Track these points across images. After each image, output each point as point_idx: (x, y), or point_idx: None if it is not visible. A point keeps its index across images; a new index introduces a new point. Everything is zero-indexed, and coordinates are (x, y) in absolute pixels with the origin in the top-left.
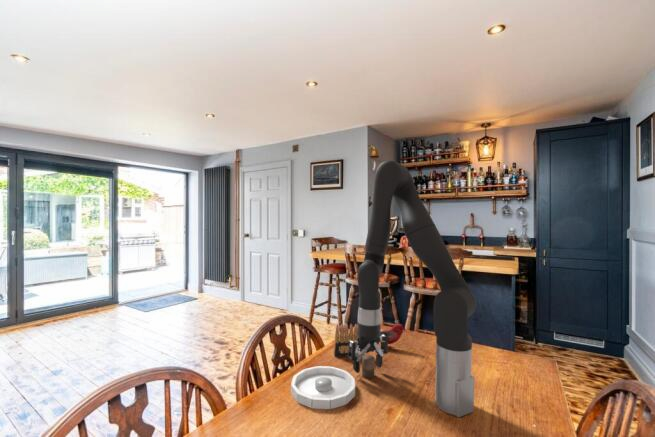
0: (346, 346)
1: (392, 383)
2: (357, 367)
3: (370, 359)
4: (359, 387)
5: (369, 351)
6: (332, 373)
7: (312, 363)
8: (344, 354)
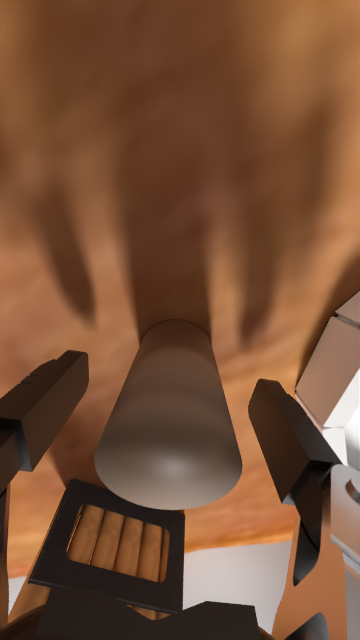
0: (131, 568)
1: (99, 187)
2: (295, 414)
3: (177, 438)
4: (320, 288)
5: (170, 630)
6: None
7: (293, 519)
8: (148, 514)
